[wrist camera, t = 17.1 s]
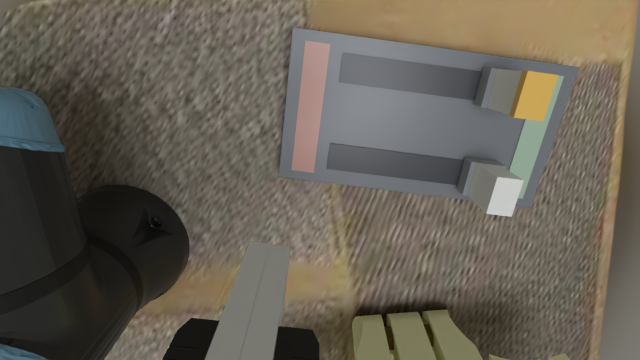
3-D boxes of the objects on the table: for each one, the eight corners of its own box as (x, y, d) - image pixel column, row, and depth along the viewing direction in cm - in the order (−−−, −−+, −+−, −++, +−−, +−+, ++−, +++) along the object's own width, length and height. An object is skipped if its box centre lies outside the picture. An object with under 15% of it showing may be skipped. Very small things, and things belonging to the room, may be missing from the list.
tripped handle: (473, 105, 36) (507, 116, 30) (483, 66, 35) (521, 69, 28) (508, 109, 36) (549, 122, 30) (519, 71, 35) (565, 75, 29)
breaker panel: (281, 168, 42) (270, 199, 33) (295, 29, 37) (286, 21, 28) (516, 197, 43) (567, 235, 34) (560, 66, 38) (633, 70, 29)
